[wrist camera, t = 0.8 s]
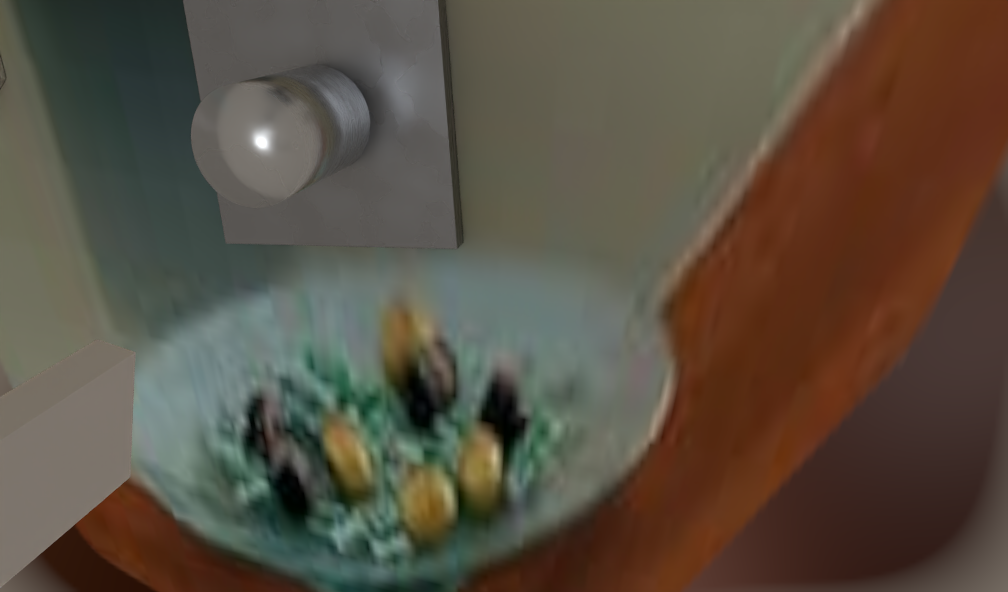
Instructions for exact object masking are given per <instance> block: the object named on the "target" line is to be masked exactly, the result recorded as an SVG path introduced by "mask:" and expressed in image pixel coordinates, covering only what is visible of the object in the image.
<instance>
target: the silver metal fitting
mask: <svg viewBox="0 0 1008 592" xmlns="http://www.w3.org/2000/svg"><path fill="white" fill-rule="evenodd" d="M5 79H6V77H5V73H4V69H3V65H2V61H1V57H0V88H1V86H2V84H3V83H4V81H5Z"/></svg>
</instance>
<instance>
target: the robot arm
mask: <svg viewBox="0 0 1008 592" xmlns="http://www.w3.org/2000/svg"><path fill="white" fill-rule="evenodd" d="M134 372H135V352H133V351H130V350H128V349H125V348H122V347H119V346H116V345H113V344H110V343H107V342H104V341H101V340H98V339H97V340H95V341H94V342H92V343H90V344H89V345H87V346H85V347H83V348H82V349H80V350H78V351H77V352H75V353H73V354H72V355H70V356H68V357H67V358H65V359H63V360H62V361H60V362H58V363H57V364H55V365H53V366H51V367H50V368H48V369H46V370H45V371H43V372H41V373H40V374H38V375H36V376H35V377H33V378H31V379H30V380H28V381H26V382H25V383H23V384H21V385H19V386H18V387H16V388H14V389H13V390H11V391H10V392H8V393H6V394H4V395H3V396H1V397H0V588H1V587H2V586H3V585H4V584H5V583H7V582H8V581H9V580H10V579H11V578H12V577H14V576H15V575H16V574H17V573H18V572H19V571H21V570H22V569H23V568H24V567H25V566H26V565H28V564H29V563H30V562H31V561H32V560H34V559H35V558H36V557H37V556H38V555H39V554H40V553H42V552H43V551H44V550H45V549H46V548H48V547H49V546H50V545H51V544H52V543H53V542H54V541H56V540H57V539H58V538H59V537H60V536H62V535H63V534H64V533H65V532H66V531H68V530H69V529H70V528H71V527H72V526H73V525H75V524H76V523H77V522H78V521H79V520H80V519H82V518H83V517H84V516H85V515H86V514H87V513H89V512H90V511H91V510H92V509H93V508H94V507H96V506H97V505H98V504H99V503H100V502H101V501H103V500H104V499H105V498H106V497H107V496H109V495H110V494H111V493H112V492H113V491H114V490H116V489H117V488H118V487H119V486H120V485H121V484H123V483H124V482H125V481H126V480H127V479H128V478H130V470H131V445H132V421H133V396H134Z"/></svg>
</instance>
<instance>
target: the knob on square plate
mask: <svg viewBox="0 0 1008 592" xmlns="http://www.w3.org/2000/svg"><path fill="white" fill-rule="evenodd" d="M183 3H184V9H185V15H186V20H187V26H188V32H189V37H190V43H191V49H192V54H193V60H194V66H195V71H196V77H197V83H198V88H199V94H200V100H201V103H200V105H199V106H198V108H197V110H196V112H195V115H194V118H193V122H192V128H191V143H192V149H193V154H194V157H195V160H196V163H197V165H198V167H199V169H200V171H201V173H202V174H203V176H204V178H205V179H206V180H207V182H208V183H209V184H210V185H211V186H212V187H213V188H214V189H215V190H216V191H217V196H218V202H219V207H220V213H221V219H222V224H223V230H224V236H225V241H226V243H231V244H273V245H316V246H359V247H401V248H444V249H457V248H458V247H459V246H460V245H461V244H462V243H463V231H462V218H461V204H460V191H459V178H458V164H457V151H456V137H455V124H454V110H453V97H452V83H451V70H450V57H449V43H448V30H447V16H446V3H445V0H183Z"/></svg>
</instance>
